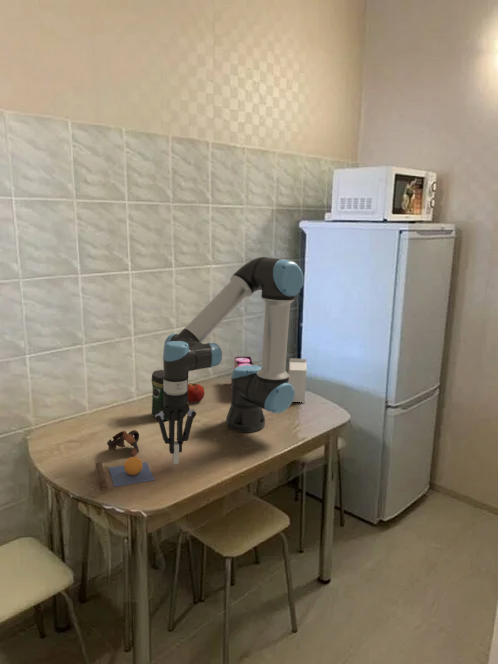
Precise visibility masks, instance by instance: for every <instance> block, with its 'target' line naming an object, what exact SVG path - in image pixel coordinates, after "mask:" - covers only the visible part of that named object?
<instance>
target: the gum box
mask: <svg viewBox="0 0 498 664" xmlns="http://www.w3.org/2000/svg"><path fill="white" fill-rule="evenodd" d="M248 365H254V363H253V360H252V356H234V366H233V367H234V368H233V370H234V369H235V368H236V367H240V366H248Z"/></svg>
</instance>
